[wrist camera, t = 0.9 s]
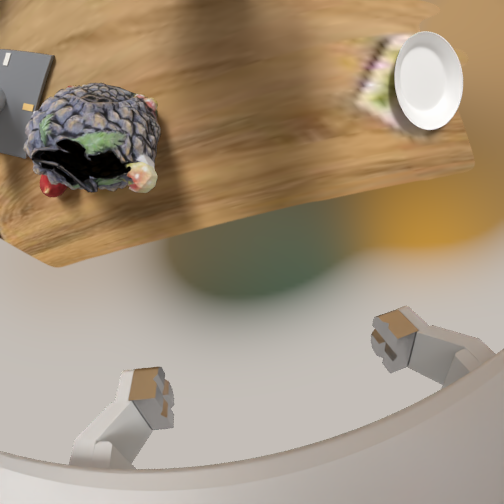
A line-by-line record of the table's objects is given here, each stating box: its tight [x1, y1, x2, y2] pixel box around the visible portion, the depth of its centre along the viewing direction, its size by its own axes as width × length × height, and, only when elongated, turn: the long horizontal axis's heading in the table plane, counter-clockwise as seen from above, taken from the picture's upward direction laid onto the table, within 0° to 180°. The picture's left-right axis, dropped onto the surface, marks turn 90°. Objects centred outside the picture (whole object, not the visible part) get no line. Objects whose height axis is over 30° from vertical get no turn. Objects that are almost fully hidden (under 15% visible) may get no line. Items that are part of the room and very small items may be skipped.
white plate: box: [395, 31, 463, 130], centre depth 50 cm, size 25×25×4 cm
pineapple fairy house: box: [23, 83, 161, 193], centre depth 34 cm, size 21×15×25 cm
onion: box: [40, 174, 67, 197], centre depth 43 cm, size 6×6×8 cm
